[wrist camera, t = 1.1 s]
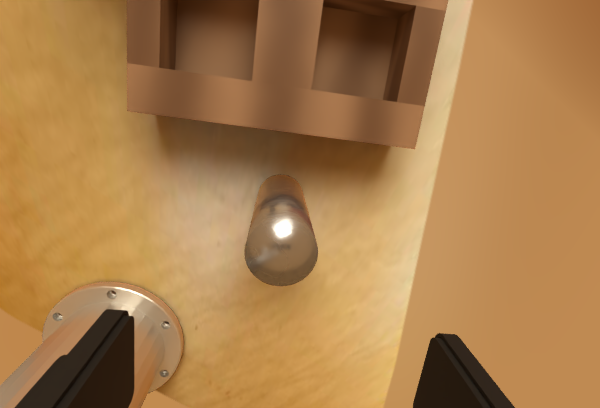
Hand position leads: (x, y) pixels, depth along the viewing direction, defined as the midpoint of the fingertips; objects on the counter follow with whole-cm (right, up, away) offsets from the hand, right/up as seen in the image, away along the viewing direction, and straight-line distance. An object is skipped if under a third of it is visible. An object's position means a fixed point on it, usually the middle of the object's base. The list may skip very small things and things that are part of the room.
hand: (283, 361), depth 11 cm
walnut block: (-1, +17, +16) cm, 24 cm away
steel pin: (-1, +6, +19) cm, 20 cm away
